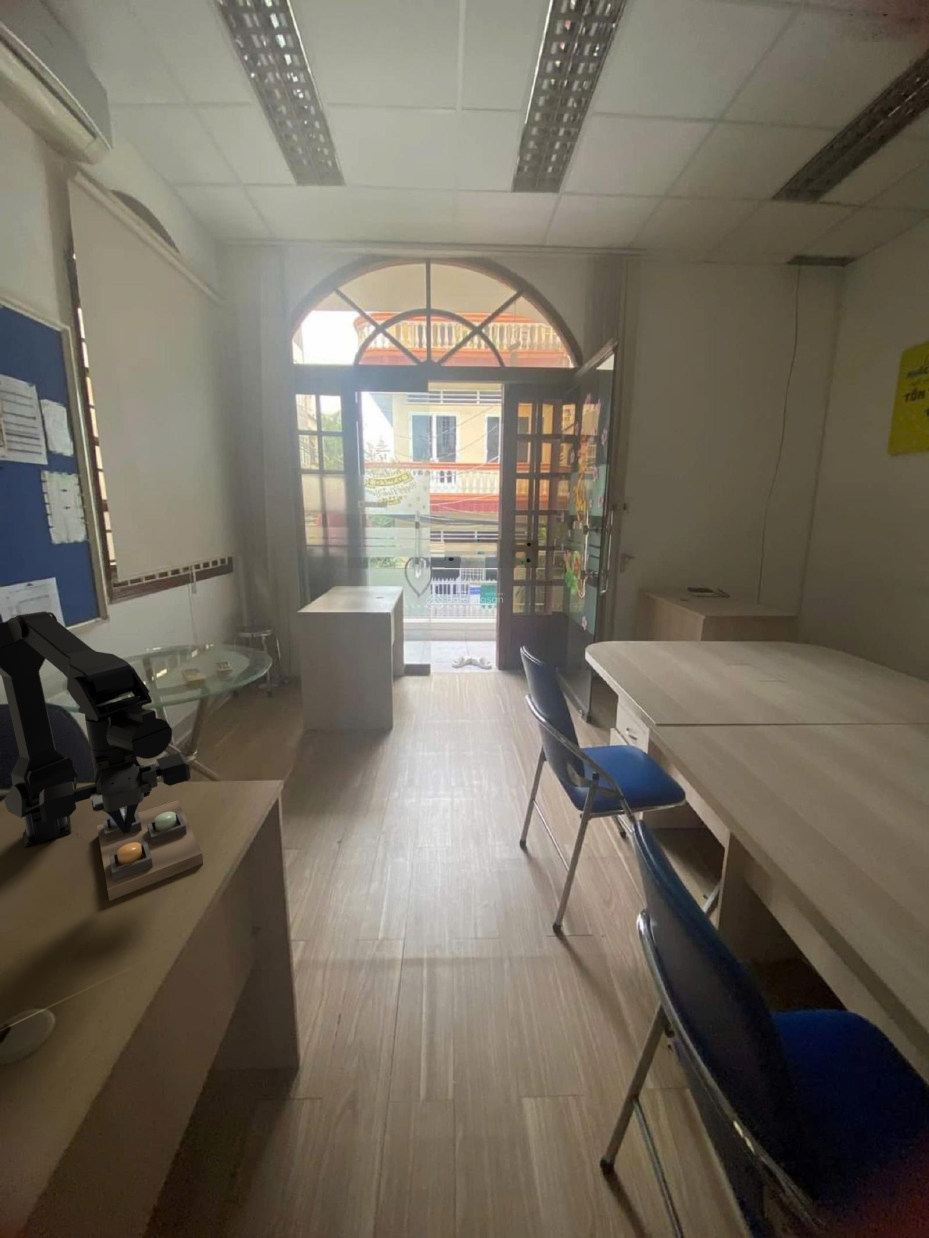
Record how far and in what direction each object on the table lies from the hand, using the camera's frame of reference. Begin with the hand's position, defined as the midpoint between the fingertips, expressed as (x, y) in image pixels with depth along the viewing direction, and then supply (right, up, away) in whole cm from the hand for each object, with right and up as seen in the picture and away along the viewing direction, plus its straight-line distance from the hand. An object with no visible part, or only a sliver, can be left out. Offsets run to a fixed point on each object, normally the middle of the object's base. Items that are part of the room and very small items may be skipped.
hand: (126, 832), depth 78 cm
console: (-2, -6, +8) cm, 10 cm away
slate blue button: (-8, -2, +10) cm, 13 cm away
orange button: (0, -4, +1) cm, 5 cm away
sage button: (+1, -3, +9) cm, 10 cm away
